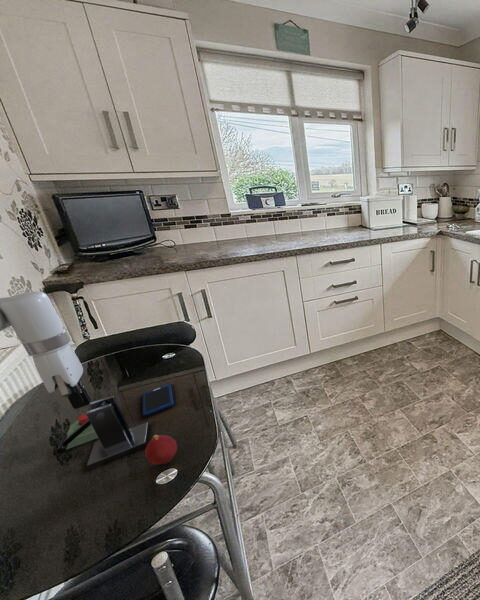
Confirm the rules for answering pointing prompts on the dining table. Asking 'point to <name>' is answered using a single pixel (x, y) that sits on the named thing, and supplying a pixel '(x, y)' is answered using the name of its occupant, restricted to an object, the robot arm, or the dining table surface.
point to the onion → (160, 449)
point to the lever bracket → (113, 433)
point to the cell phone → (157, 400)
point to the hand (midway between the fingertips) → (83, 405)
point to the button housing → (81, 435)
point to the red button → (82, 419)
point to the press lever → (75, 434)
